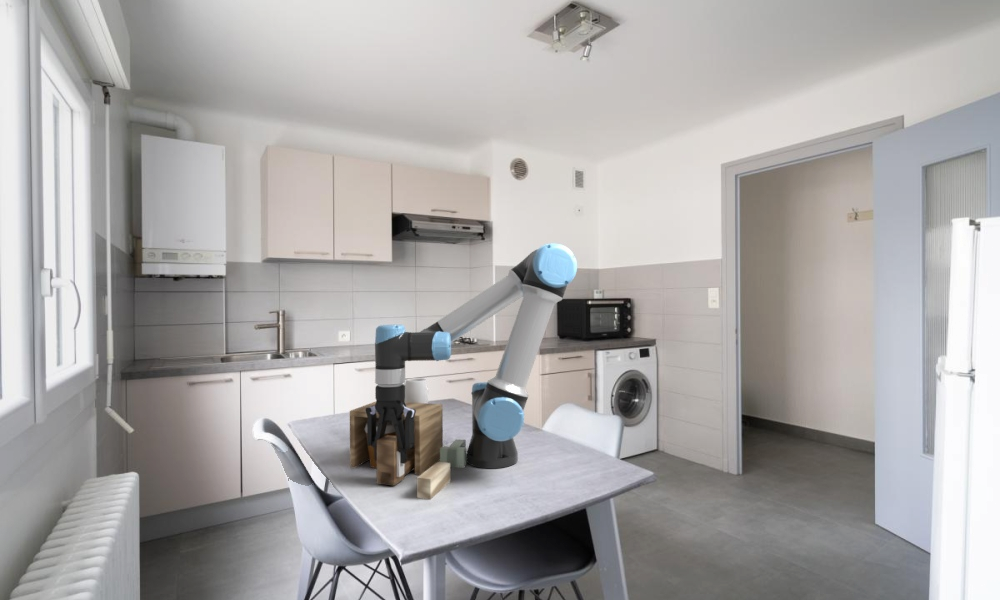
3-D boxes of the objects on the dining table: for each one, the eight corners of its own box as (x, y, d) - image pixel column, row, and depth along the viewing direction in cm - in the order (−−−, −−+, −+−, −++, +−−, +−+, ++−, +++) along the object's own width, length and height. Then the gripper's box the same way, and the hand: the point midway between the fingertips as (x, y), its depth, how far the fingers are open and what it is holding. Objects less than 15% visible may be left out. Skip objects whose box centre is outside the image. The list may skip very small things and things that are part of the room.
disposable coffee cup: (390, 471, 134) (389, 427, 134) (358, 469, 136) (358, 426, 136) (403, 460, 143) (403, 419, 143) (373, 458, 145) (373, 418, 145)
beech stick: (450, 482, 126) (450, 462, 126) (430, 500, 114) (430, 479, 114) (438, 480, 127) (437, 461, 127) (417, 498, 115) (417, 477, 115)
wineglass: (417, 448, 155) (417, 382, 155) (397, 444, 160) (397, 380, 160) (434, 441, 162) (434, 378, 162) (415, 437, 167) (415, 376, 167)
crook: (433, 458, 143) (432, 421, 143) (394, 485, 122) (394, 441, 122) (385, 453, 148) (385, 417, 148) (340, 478, 127) (340, 436, 127)
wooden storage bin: (442, 457, 145) (442, 404, 145) (419, 474, 131) (419, 415, 131) (378, 451, 152) (378, 400, 152) (350, 467, 137) (349, 410, 137)
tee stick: (472, 456, 146) (472, 440, 146) (463, 467, 136) (463, 450, 136) (449, 455, 147) (449, 439, 147) (440, 466, 138) (439, 448, 138)
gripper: (428, 383, 126) (428, 472, 126) (368, 380, 131) (368, 466, 131) (414, 388, 119) (415, 483, 119) (351, 385, 124) (352, 475, 124)
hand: (390, 474), depth 125 cm, fingers closed on crook, 5 cm apart
